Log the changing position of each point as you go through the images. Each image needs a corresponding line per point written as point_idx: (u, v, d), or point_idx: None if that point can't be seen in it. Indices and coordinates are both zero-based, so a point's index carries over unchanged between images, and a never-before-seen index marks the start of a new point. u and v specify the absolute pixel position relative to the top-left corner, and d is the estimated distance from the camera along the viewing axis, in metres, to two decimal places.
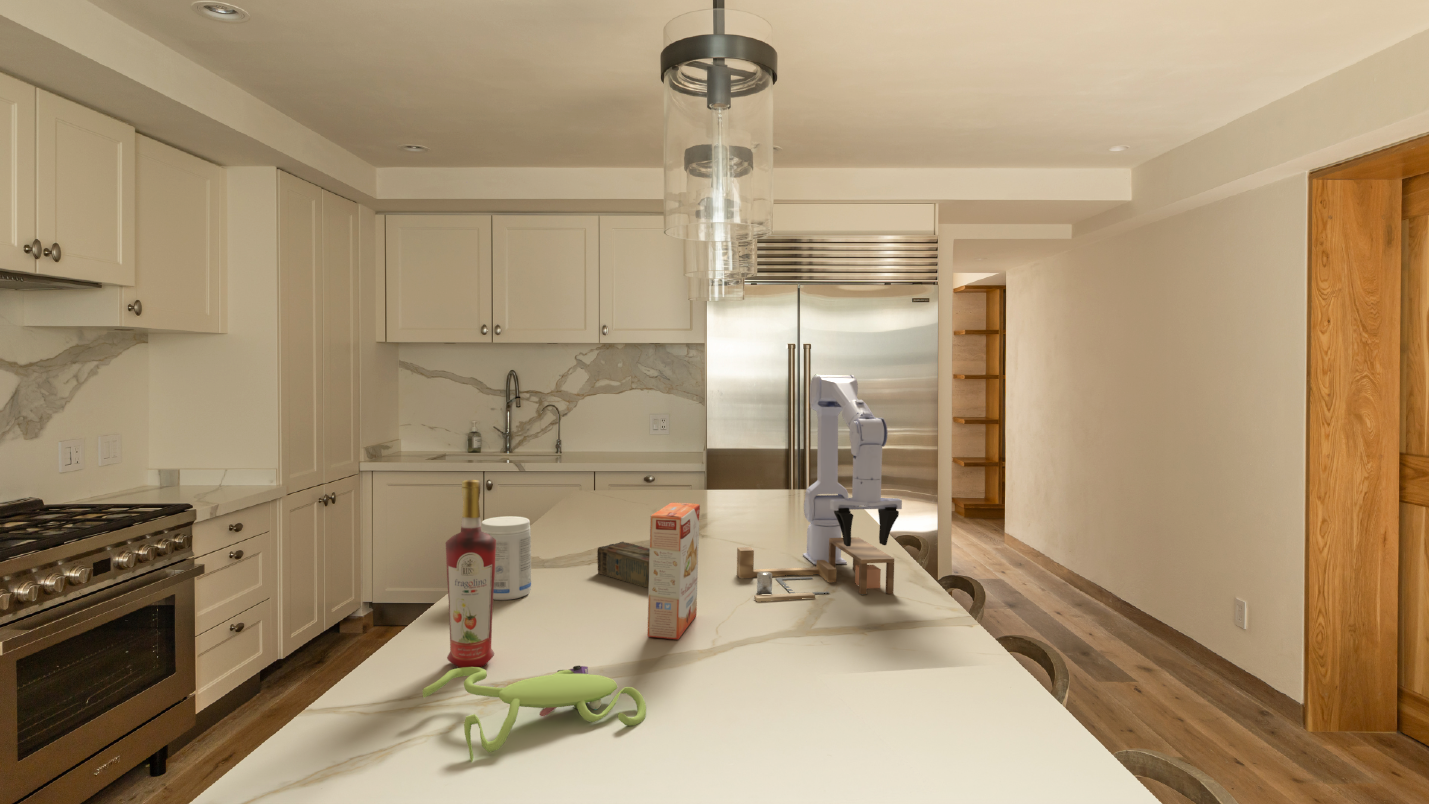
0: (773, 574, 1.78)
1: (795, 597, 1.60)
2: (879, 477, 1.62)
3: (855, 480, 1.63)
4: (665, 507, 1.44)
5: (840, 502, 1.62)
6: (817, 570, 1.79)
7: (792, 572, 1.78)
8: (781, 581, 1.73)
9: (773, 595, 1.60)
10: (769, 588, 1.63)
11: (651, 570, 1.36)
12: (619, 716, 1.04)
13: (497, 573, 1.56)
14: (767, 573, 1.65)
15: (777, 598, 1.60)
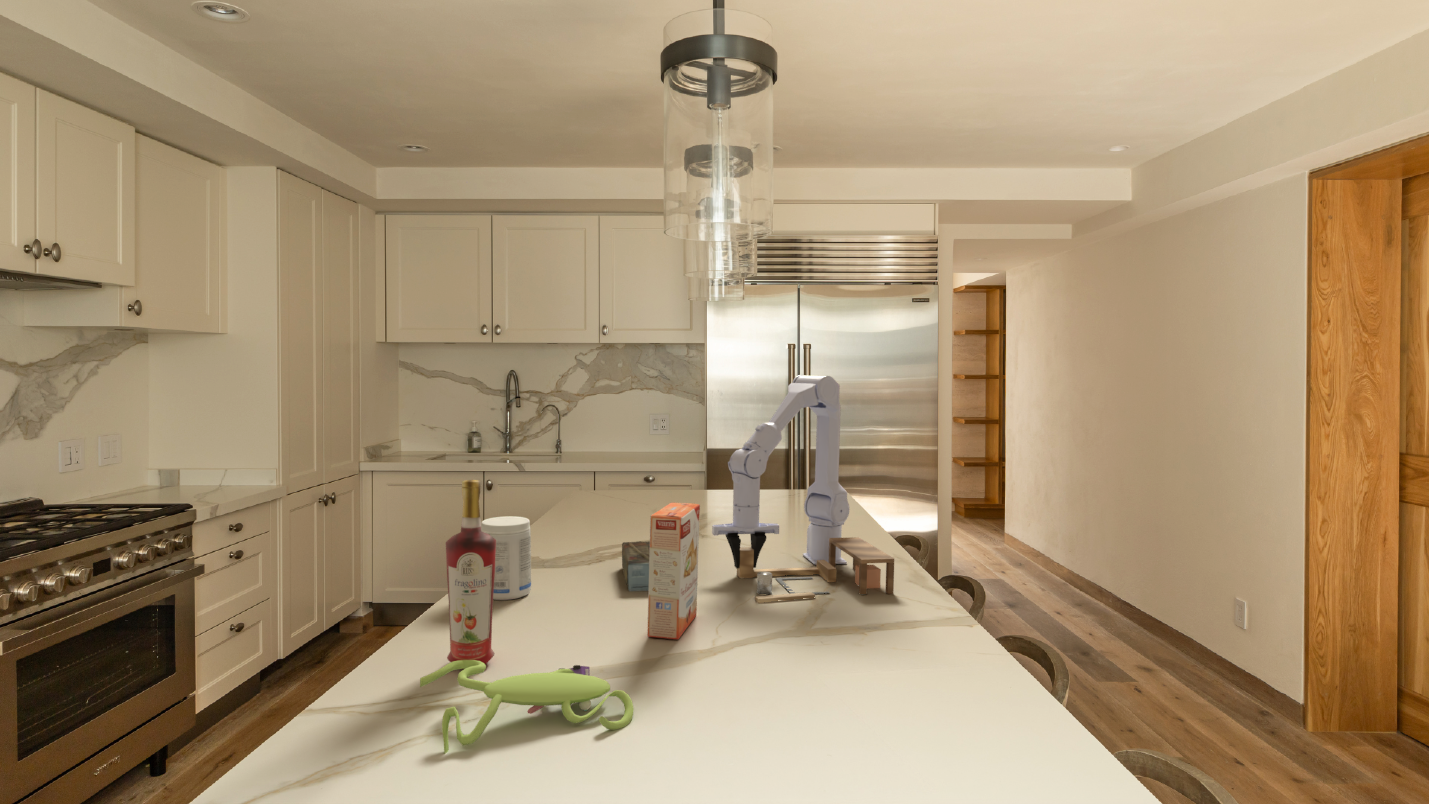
0: (773, 574, 1.78)
1: (796, 597, 1.60)
2: (744, 505, 1.74)
3: (734, 507, 1.75)
4: (665, 507, 1.44)
5: (720, 527, 1.75)
6: (817, 570, 1.79)
7: (792, 572, 1.78)
8: (781, 581, 1.73)
9: (774, 596, 1.60)
10: (769, 588, 1.63)
11: (651, 570, 1.36)
12: (600, 719, 1.03)
13: (497, 573, 1.56)
14: (767, 573, 1.65)
15: (778, 599, 1.59)
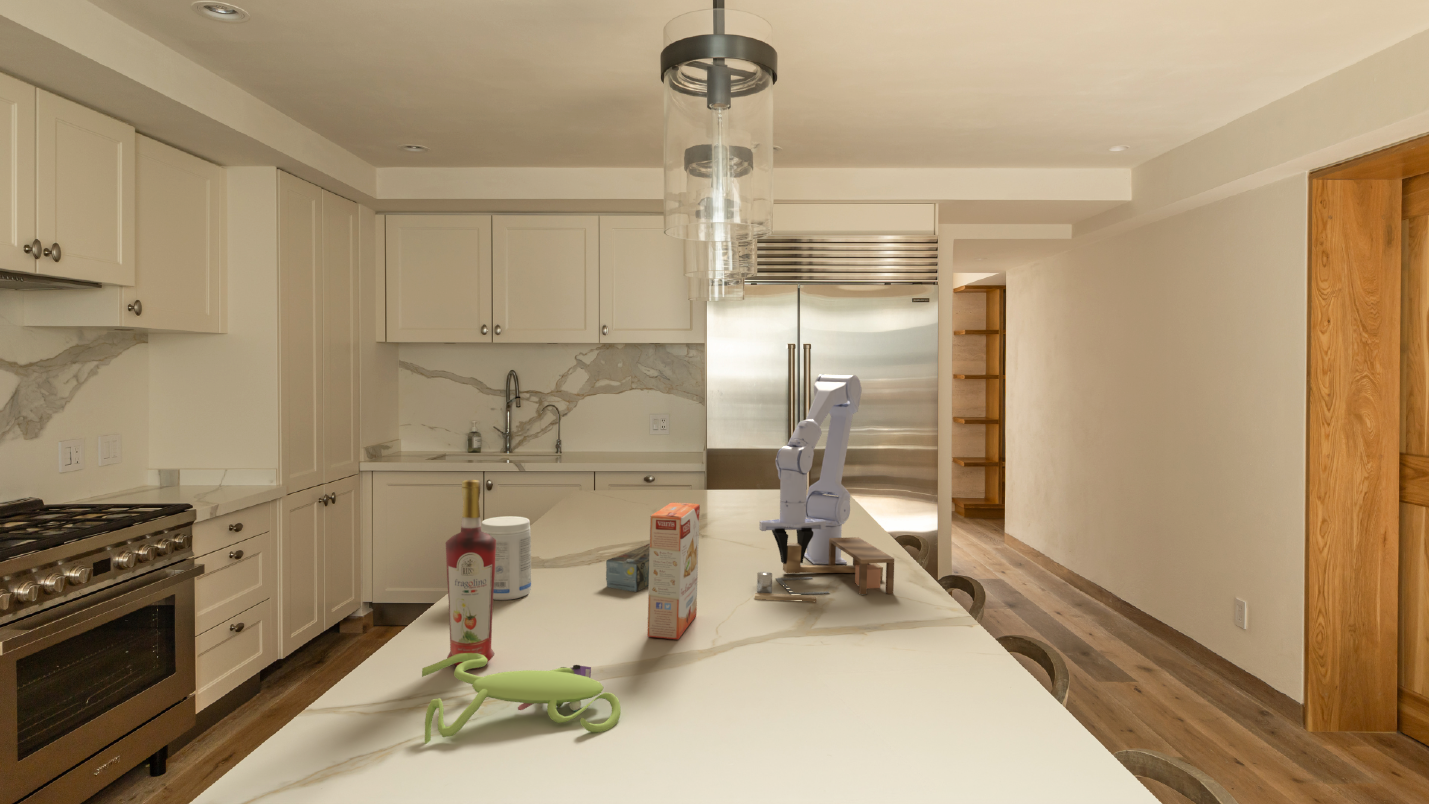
0: (819, 570, 1.79)
1: (794, 598, 1.59)
2: (795, 501, 1.76)
3: (782, 503, 1.77)
4: (665, 507, 1.44)
5: (767, 523, 1.76)
6: None
7: (838, 569, 1.80)
8: (781, 581, 1.73)
9: (773, 594, 1.61)
10: (769, 588, 1.63)
11: (651, 570, 1.36)
12: (581, 721, 1.02)
13: (497, 573, 1.56)
14: (767, 573, 1.65)
15: (775, 597, 1.60)
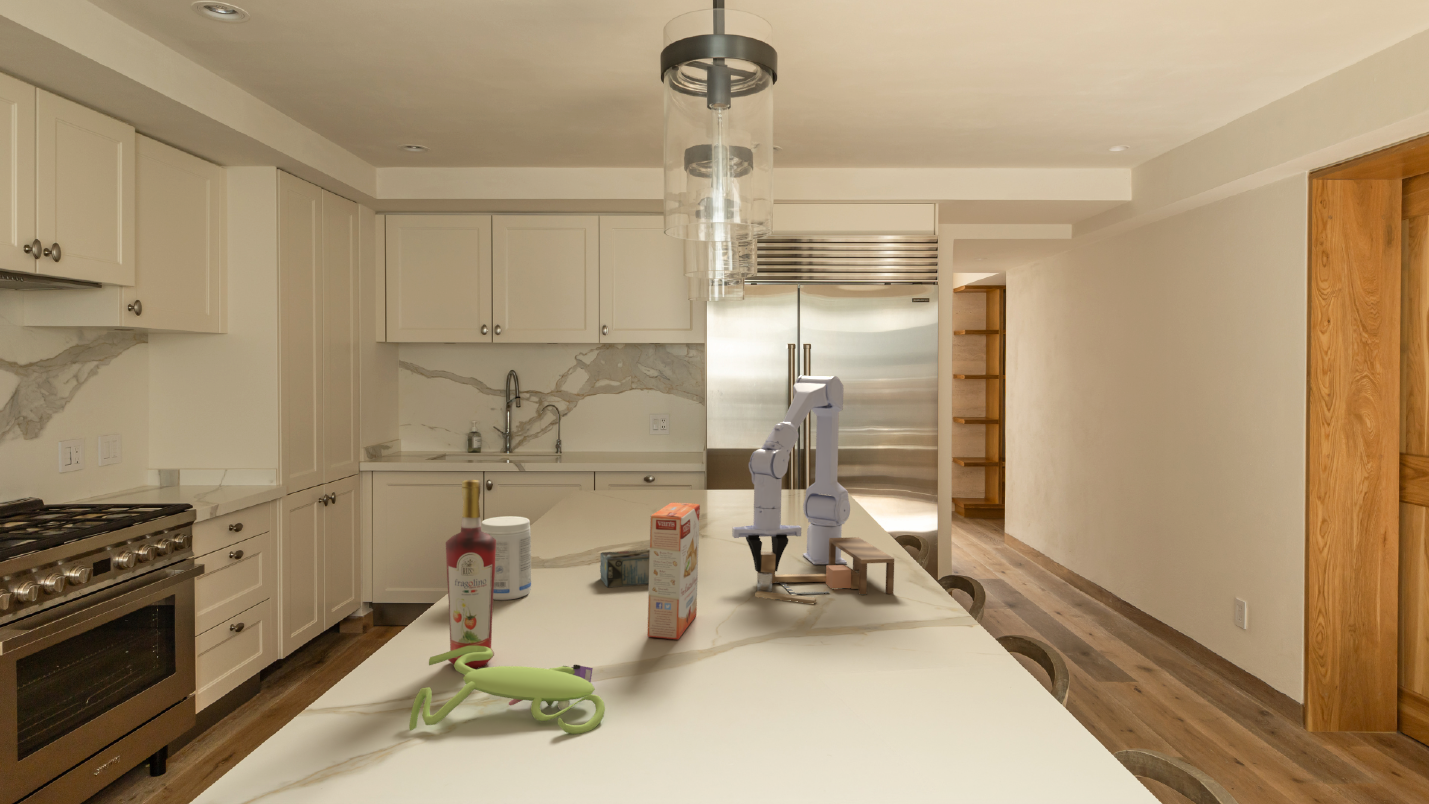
0: (795, 580, 1.72)
1: (793, 599, 1.59)
2: (769, 506, 1.68)
3: (755, 509, 1.70)
4: (665, 507, 1.44)
5: (740, 530, 1.69)
6: None
7: (814, 578, 1.73)
8: None
9: (774, 593, 1.62)
10: (769, 588, 1.63)
11: (651, 570, 1.36)
12: (558, 721, 1.02)
13: (497, 573, 1.56)
14: (767, 573, 1.65)
15: (775, 597, 1.60)
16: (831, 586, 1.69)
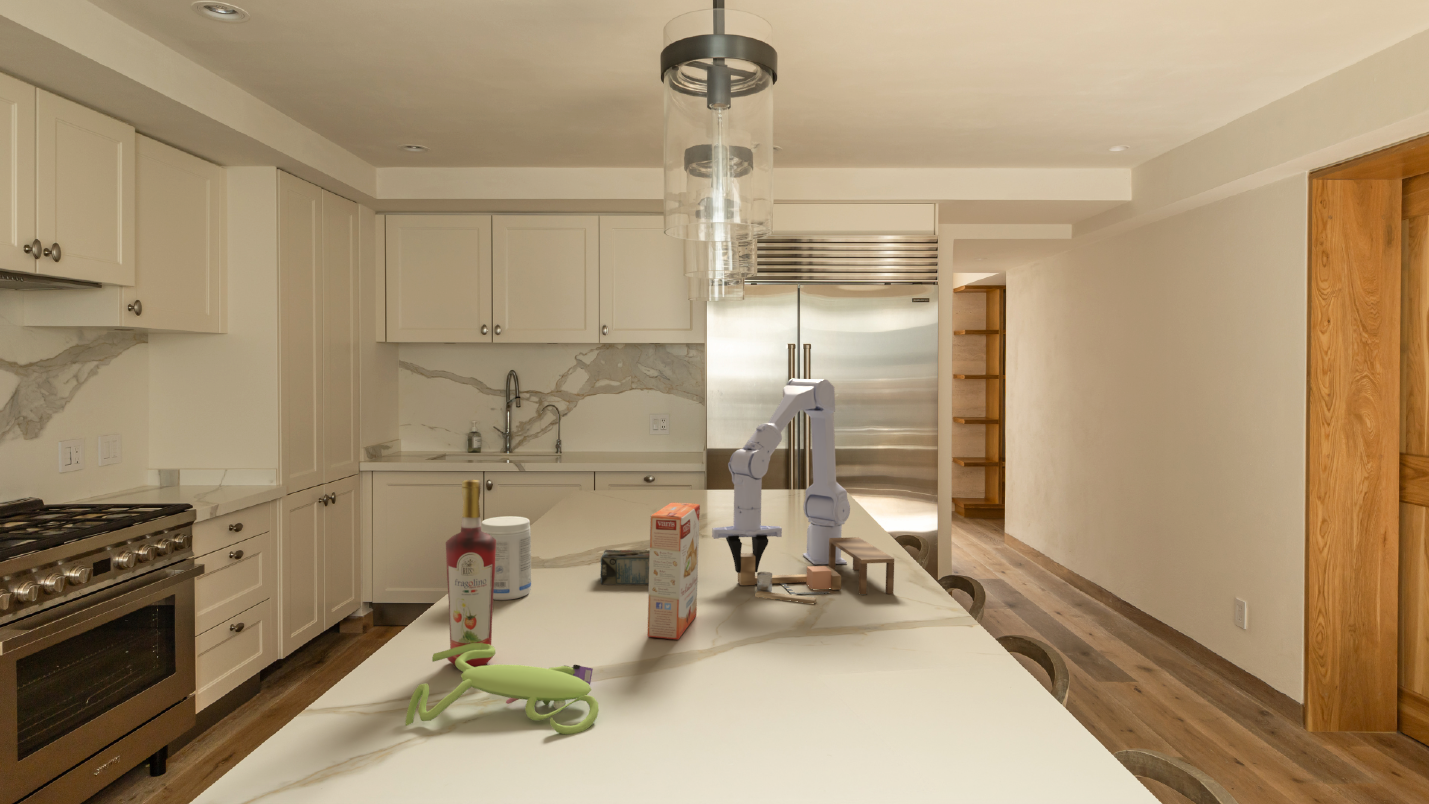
0: (775, 581, 1.71)
1: (793, 599, 1.59)
2: (747, 507, 1.67)
3: (735, 509, 1.69)
4: (665, 507, 1.44)
5: (720, 530, 1.68)
6: None
7: (795, 579, 1.72)
8: None
9: (774, 593, 1.62)
10: (769, 588, 1.63)
11: (651, 570, 1.36)
12: (550, 721, 1.02)
13: (497, 573, 1.56)
14: (767, 573, 1.65)
15: (775, 597, 1.60)
16: (811, 587, 1.68)
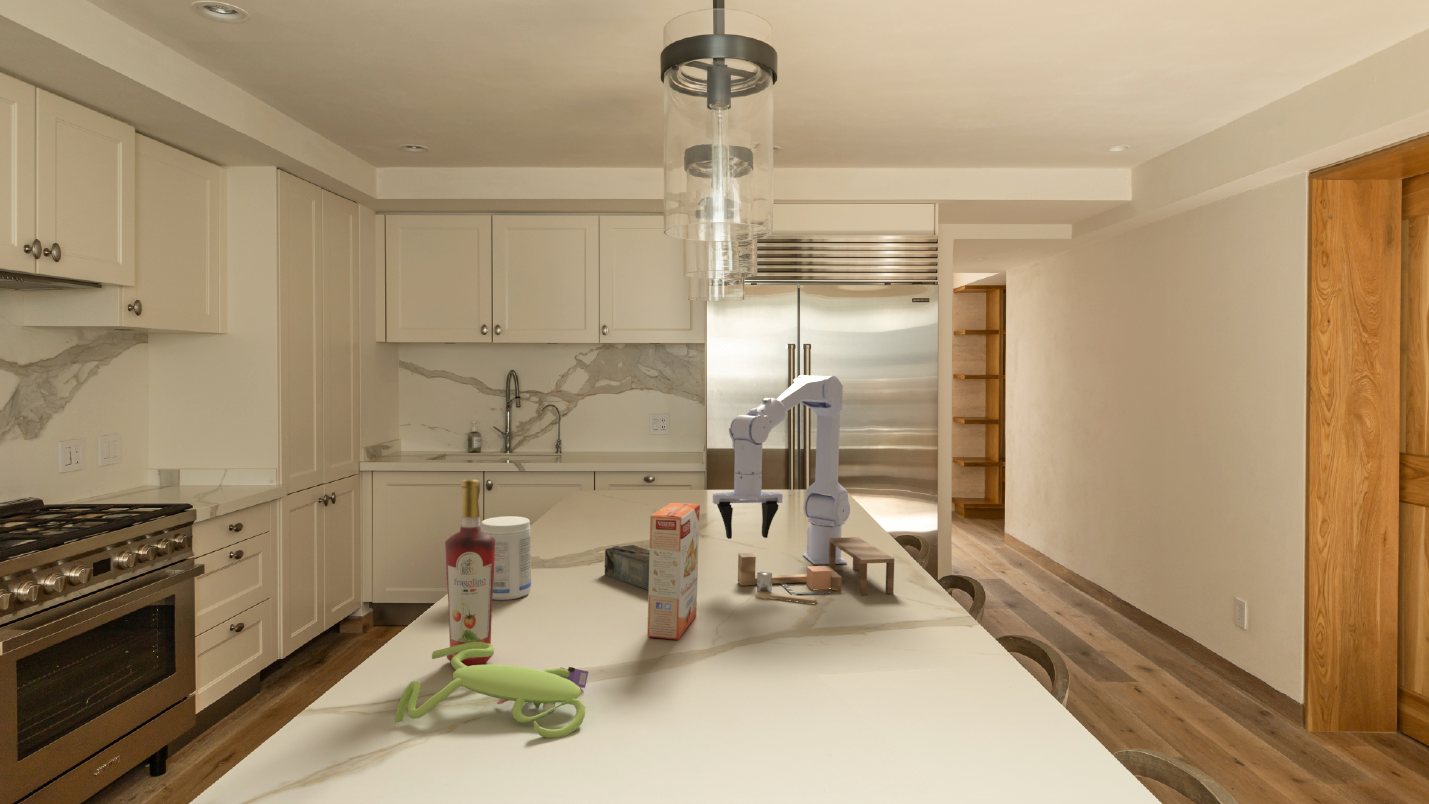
0: (775, 581, 1.71)
1: (793, 599, 1.59)
2: (748, 472, 1.67)
3: (736, 475, 1.69)
4: (665, 507, 1.44)
5: (721, 496, 1.68)
6: None
7: (795, 579, 1.72)
8: None
9: (774, 593, 1.62)
10: (769, 588, 1.63)
11: (651, 570, 1.36)
12: (534, 723, 1.01)
13: (497, 573, 1.56)
14: (767, 573, 1.65)
15: (775, 597, 1.60)
16: (811, 587, 1.68)
